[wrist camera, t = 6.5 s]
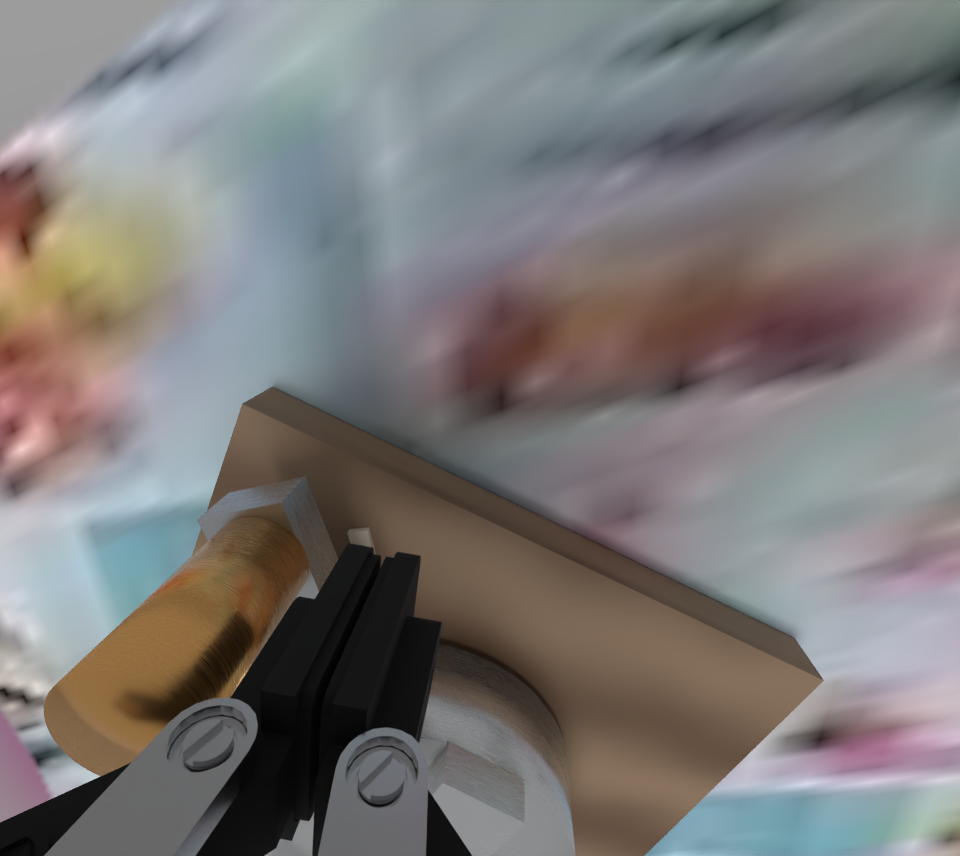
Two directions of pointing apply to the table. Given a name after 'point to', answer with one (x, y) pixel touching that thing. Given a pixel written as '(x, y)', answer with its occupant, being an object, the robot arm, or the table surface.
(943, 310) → the table surface
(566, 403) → the table surface
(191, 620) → the silver and gold piece
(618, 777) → the nut board
